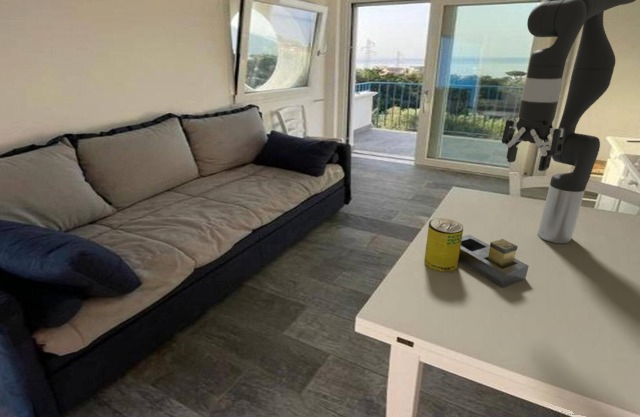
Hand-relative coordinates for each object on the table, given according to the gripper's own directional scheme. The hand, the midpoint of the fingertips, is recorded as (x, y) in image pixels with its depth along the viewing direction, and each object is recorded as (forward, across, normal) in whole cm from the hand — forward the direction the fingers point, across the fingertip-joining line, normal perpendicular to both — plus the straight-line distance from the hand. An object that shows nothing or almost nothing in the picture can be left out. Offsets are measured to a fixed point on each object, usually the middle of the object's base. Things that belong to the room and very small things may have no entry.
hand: (525, 165), depth 94 cm
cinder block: (+29, +4, +5) cm, 30 cm away
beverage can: (+29, +10, +15) cm, 34 cm away
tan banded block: (+29, -2, +5) cm, 30 cm away
